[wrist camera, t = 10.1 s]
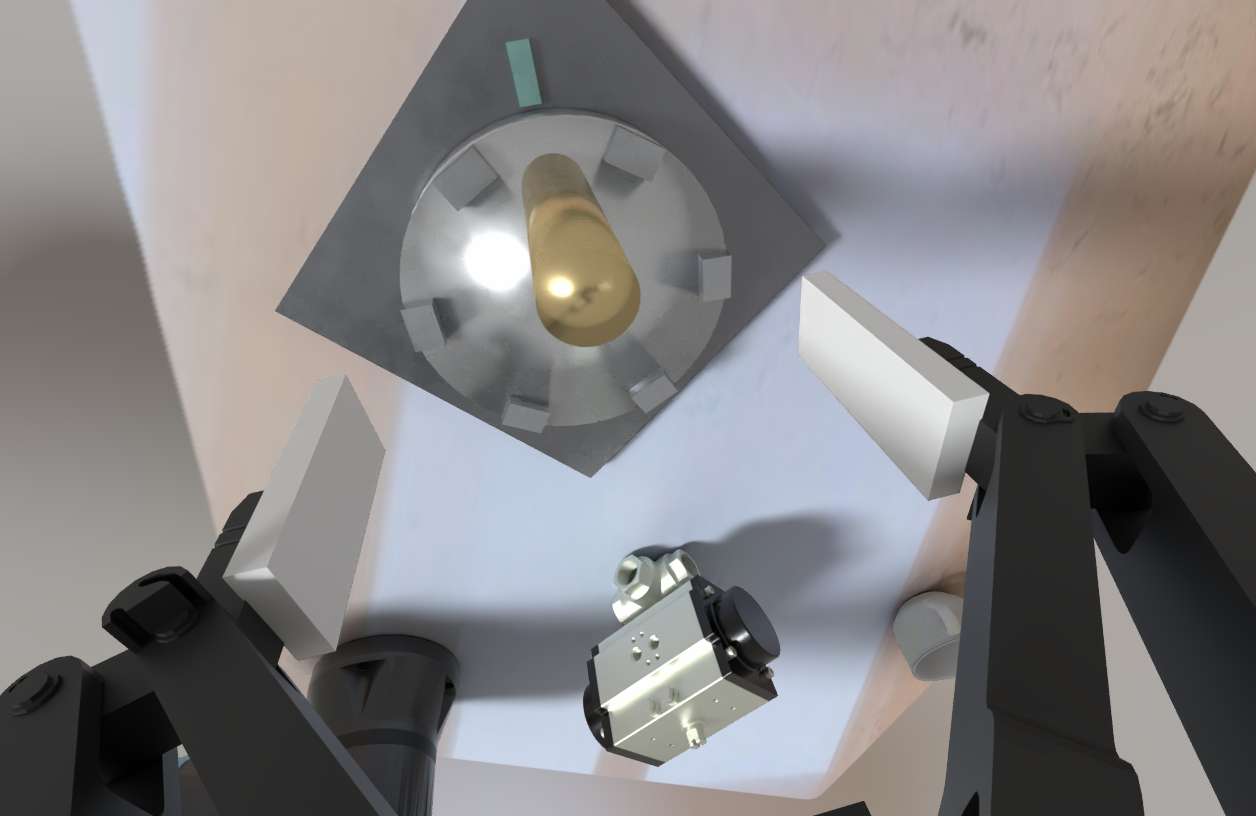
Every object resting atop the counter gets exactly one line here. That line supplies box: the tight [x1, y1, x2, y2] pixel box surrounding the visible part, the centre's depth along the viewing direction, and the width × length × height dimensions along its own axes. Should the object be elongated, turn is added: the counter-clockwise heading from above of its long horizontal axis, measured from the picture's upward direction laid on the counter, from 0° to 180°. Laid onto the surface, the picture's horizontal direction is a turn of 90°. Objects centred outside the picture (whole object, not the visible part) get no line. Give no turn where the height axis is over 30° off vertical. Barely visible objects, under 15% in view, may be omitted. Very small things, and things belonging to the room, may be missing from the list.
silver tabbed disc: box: [400, 108, 732, 433], centre depth 30 cm, size 20×20×18 cm
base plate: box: [275, 0, 826, 478], centre depth 38 cm, size 26×26×3 cm
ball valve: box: [583, 549, 780, 767], centre depth 53 cm, size 18×8×18 cm, turn 132°
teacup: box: [893, 591, 964, 681], centre depth 71 cm, size 14×11×8 cm
